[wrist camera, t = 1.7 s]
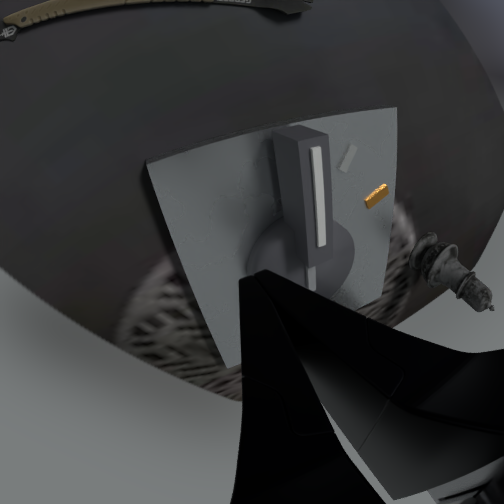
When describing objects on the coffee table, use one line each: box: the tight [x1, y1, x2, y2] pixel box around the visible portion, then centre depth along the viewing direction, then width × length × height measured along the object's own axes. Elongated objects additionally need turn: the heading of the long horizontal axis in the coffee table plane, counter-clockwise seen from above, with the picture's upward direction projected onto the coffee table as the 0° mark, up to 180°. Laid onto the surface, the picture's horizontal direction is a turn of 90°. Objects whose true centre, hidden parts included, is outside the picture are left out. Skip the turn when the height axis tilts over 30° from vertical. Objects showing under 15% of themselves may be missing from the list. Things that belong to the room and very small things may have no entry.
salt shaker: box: [409, 232, 494, 312], centre depth 27 cm, size 6×6×12 cm
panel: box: [146, 105, 397, 369], centre depth 23 cm, size 20×18×1 cm
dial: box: [247, 125, 355, 299], centre depth 19 cm, size 14×8×4 cm, turn 10°
